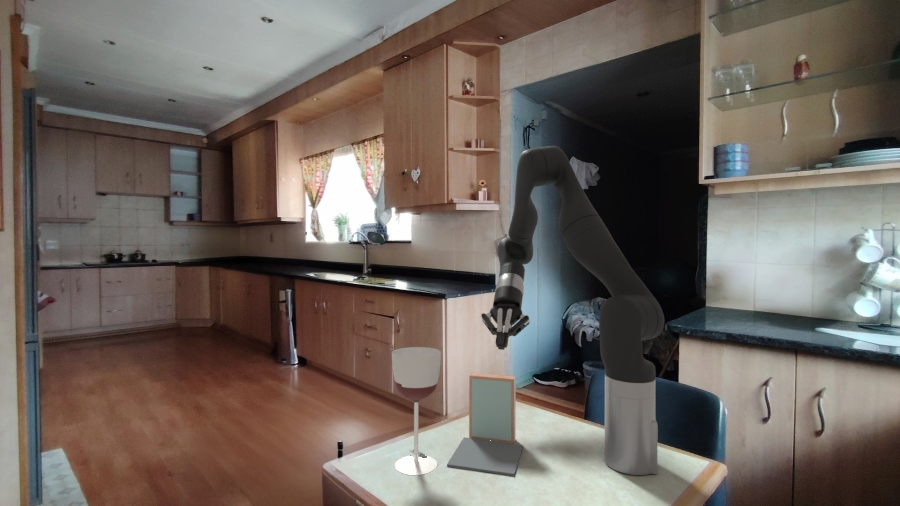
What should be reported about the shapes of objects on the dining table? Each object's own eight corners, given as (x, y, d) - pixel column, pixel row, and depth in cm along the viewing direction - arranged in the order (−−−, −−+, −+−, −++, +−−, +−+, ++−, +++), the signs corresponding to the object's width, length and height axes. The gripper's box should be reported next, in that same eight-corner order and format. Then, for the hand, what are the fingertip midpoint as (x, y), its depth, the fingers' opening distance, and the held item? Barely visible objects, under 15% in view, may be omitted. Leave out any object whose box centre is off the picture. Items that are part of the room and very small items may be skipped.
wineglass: (439, 476, 82) (440, 357, 82) (388, 475, 82) (388, 356, 82) (441, 454, 91) (441, 347, 91) (394, 453, 91) (395, 346, 91)
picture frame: (515, 439, 98) (515, 376, 98) (513, 444, 96) (514, 379, 96) (471, 434, 101) (471, 372, 101) (469, 438, 99) (469, 375, 99)
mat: (522, 446, 95) (522, 444, 95) (514, 476, 82) (514, 473, 82) (463, 439, 98) (463, 437, 98) (447, 466, 86) (447, 464, 86)
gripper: (483, 283, 120) (472, 337, 108) (532, 285, 116) (526, 340, 104) (487, 301, 125) (477, 354, 113) (534, 303, 121) (529, 358, 110)
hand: (501, 347), depth 109 cm, fingers closed
